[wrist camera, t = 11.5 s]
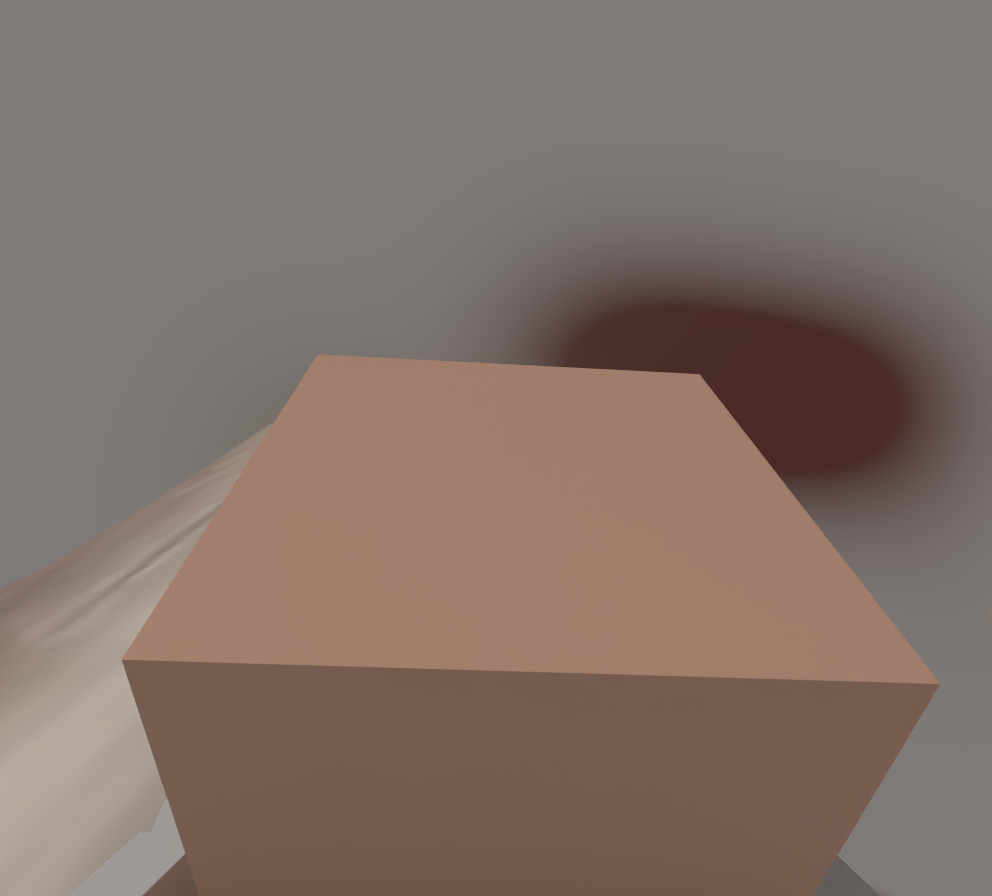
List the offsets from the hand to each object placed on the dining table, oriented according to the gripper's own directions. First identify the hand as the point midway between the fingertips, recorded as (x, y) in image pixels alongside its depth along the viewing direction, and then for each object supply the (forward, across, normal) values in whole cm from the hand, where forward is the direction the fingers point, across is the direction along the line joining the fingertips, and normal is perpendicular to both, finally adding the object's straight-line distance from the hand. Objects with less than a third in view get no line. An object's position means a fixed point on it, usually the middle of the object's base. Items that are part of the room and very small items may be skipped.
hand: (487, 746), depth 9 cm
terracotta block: (-1, 0, -6) cm, 7 cm away
